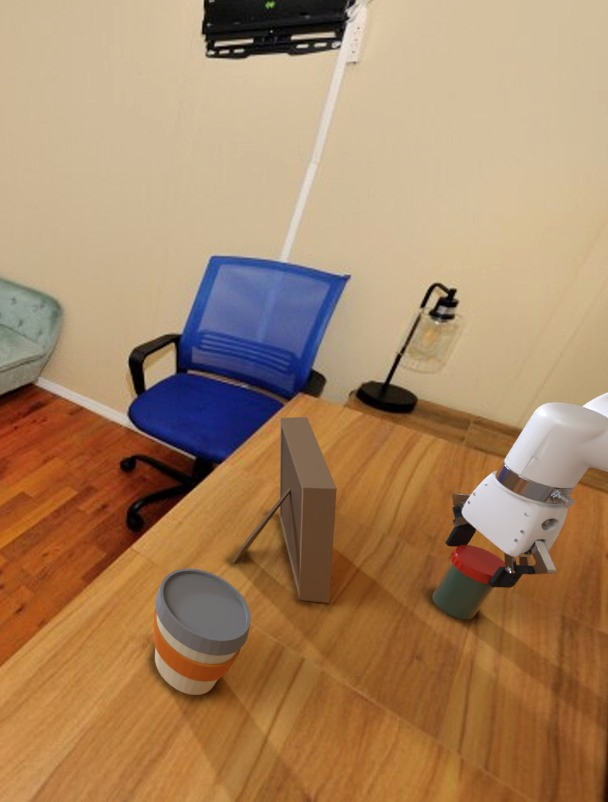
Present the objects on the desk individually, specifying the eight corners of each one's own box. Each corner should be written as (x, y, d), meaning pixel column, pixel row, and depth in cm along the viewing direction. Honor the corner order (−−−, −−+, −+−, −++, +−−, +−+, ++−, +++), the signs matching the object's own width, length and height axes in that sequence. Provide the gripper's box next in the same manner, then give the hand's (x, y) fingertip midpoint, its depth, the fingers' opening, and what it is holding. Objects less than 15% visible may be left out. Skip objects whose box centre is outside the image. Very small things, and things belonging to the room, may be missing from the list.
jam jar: (470, 600, 89) (498, 557, 84) (478, 625, 84) (508, 581, 79) (429, 587, 91) (455, 544, 86) (435, 610, 87) (462, 567, 82)
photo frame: (302, 521, 106) (341, 422, 94) (327, 606, 88) (380, 496, 76) (225, 505, 111) (253, 409, 99) (234, 583, 93) (270, 476, 81)
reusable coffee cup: (134, 628, 85) (147, 566, 78) (209, 630, 84) (229, 567, 77) (156, 706, 74) (174, 642, 67) (243, 708, 73) (270, 643, 66)
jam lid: (498, 562, 84) (504, 554, 84) (510, 591, 79) (516, 583, 79) (446, 546, 88) (451, 538, 87) (454, 574, 83) (459, 566, 82)
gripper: (623, 524, 67) (551, 611, 76) (504, 447, 83) (455, 526, 91) (566, 524, 67) (500, 610, 76) (457, 446, 83) (413, 525, 91)
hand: (476, 564), depth 83 cm, fingers open, 7 cm apart
